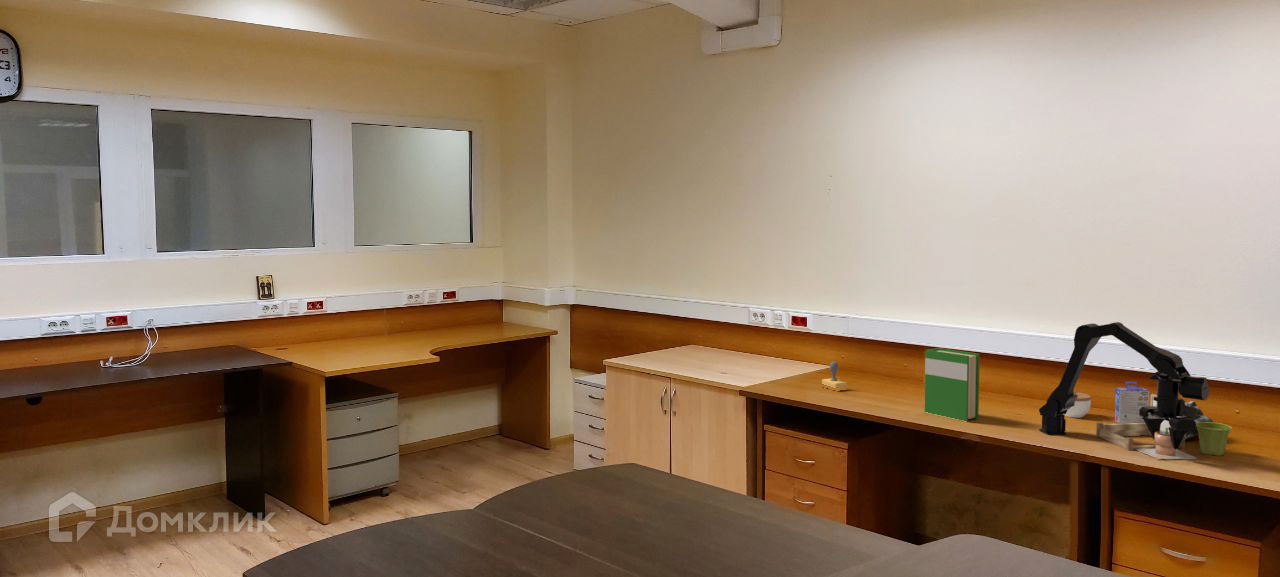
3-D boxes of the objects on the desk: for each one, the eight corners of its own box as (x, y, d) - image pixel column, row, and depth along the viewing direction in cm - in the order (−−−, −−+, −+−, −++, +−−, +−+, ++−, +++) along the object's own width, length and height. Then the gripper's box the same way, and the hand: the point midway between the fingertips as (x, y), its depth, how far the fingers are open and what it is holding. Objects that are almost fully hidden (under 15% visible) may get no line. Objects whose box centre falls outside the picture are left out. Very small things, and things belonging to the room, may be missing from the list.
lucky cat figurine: (1175, 442, 281) (1156, 401, 286) (1163, 447, 292) (1145, 408, 297) (1223, 429, 279) (1203, 388, 284) (1209, 435, 290) (1190, 396, 295)
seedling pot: (1162, 456, 264) (1163, 430, 264) (1149, 450, 270) (1150, 425, 270) (1182, 455, 265) (1183, 429, 264) (1168, 450, 271) (1169, 424, 270)
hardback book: (978, 419, 316) (979, 353, 314) (966, 422, 312) (967, 356, 309) (936, 410, 330) (937, 347, 328) (924, 413, 326) (925, 350, 324)
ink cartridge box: (1143, 421, 309) (1145, 381, 307) (1149, 425, 303) (1151, 384, 302) (1113, 420, 311) (1114, 380, 309) (1118, 424, 305) (1120, 383, 304)
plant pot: (1238, 455, 266) (1239, 427, 265) (1216, 458, 262) (1218, 430, 261) (1208, 447, 274) (1209, 420, 274) (1187, 451, 271) (1188, 423, 270)
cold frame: (1128, 450, 273) (1128, 435, 272) (1096, 435, 290) (1096, 422, 290) (1184, 448, 274) (1185, 434, 273) (1149, 434, 291) (1150, 420, 291)
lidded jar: (1089, 413, 321) (1090, 388, 320) (1091, 420, 311) (1092, 394, 310) (1057, 411, 325) (1058, 386, 324) (1058, 417, 316) (1058, 392, 315)
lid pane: (1182, 438, 274) (1184, 405, 273) (1149, 425, 290) (1150, 394, 289) (1185, 438, 274) (1187, 405, 273) (1152, 425, 290) (1153, 394, 289)
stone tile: (1158, 460, 262) (1158, 458, 262) (1135, 450, 273) (1135, 449, 273) (1196, 459, 262) (1196, 457, 262) (1172, 449, 273) (1172, 447, 273)
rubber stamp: (821, 387, 375) (821, 360, 374) (832, 386, 378) (832, 359, 377) (835, 391, 366) (836, 363, 365) (846, 390, 369) (847, 362, 368)
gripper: (1214, 401, 257) (1212, 452, 258) (1173, 388, 276) (1171, 436, 277) (1178, 402, 256) (1176, 453, 258) (1139, 389, 275) (1137, 437, 276)
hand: (1165, 445), depth 267 cm, fingers open, 9 cm apart
